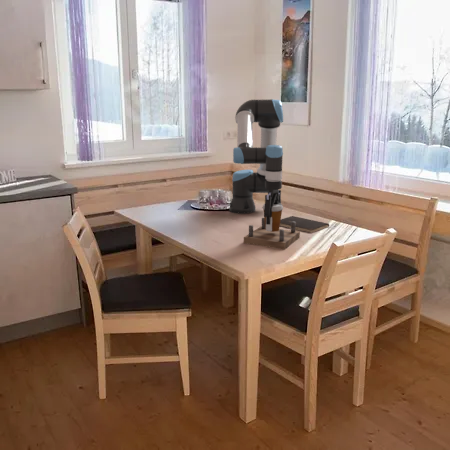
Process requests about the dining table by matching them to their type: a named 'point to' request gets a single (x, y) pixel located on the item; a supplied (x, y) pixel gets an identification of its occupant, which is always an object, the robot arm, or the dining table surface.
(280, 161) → the robot arm
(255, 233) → the peg board
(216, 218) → the dining table surface
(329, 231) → the dining table surface
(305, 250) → the dining table surface
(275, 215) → the disposable coffee cup
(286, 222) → the hardcover book
